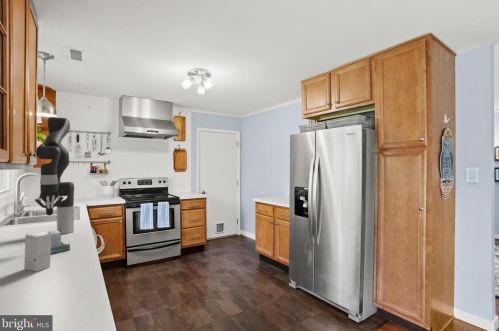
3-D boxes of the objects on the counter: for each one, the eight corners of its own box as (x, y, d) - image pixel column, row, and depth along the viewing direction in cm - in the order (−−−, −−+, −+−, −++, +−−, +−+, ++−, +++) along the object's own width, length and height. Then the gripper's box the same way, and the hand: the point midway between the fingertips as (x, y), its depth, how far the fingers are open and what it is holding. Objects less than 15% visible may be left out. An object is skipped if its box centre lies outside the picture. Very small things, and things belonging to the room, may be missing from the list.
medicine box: (61, 249, 137) (61, 232, 137) (50, 251, 134) (50, 234, 134) (58, 246, 143) (58, 230, 143) (48, 248, 140) (48, 231, 140)
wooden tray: (34, 246, 145) (34, 240, 145) (53, 242, 152) (53, 237, 152) (48, 254, 131) (48, 248, 131) (69, 250, 138) (69, 244, 138)
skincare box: (23, 269, 112) (23, 234, 112) (39, 264, 118) (39, 231, 118) (36, 272, 109) (36, 236, 109) (51, 266, 115) (51, 232, 115)
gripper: (35, 184, 135) (36, 218, 136) (65, 182, 146) (66, 214, 146) (31, 183, 140) (32, 216, 140) (60, 182, 150) (61, 212, 151)
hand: (49, 215), depth 143 cm, fingers closed
